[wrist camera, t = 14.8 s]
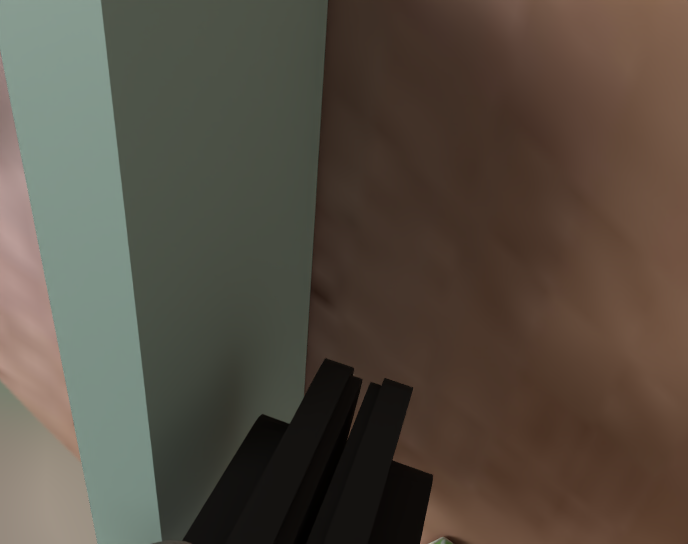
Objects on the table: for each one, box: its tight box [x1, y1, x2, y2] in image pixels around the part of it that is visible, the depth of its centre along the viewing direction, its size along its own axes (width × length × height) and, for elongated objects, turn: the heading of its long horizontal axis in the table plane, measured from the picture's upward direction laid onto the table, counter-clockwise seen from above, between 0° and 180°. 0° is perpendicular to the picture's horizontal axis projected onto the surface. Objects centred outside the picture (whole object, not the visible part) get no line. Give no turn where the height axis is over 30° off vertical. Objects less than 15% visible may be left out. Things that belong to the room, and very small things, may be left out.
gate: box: [0, 0, 328, 544], centre depth 11 cm, size 12×1×7 cm, turn 175°
